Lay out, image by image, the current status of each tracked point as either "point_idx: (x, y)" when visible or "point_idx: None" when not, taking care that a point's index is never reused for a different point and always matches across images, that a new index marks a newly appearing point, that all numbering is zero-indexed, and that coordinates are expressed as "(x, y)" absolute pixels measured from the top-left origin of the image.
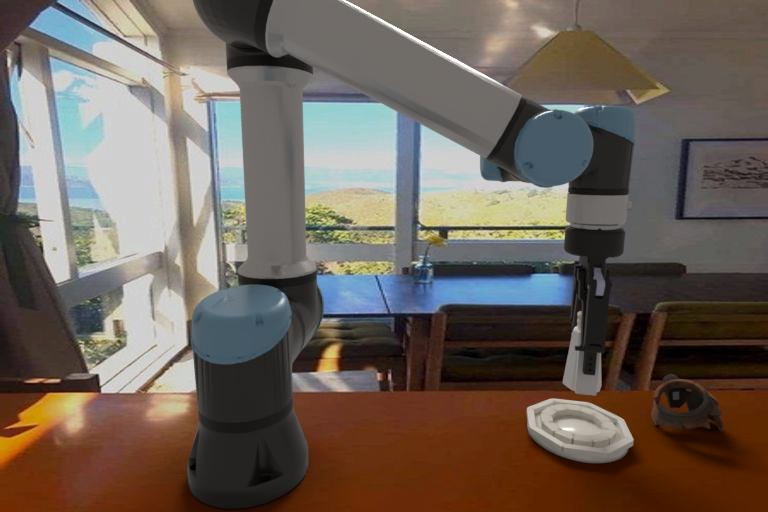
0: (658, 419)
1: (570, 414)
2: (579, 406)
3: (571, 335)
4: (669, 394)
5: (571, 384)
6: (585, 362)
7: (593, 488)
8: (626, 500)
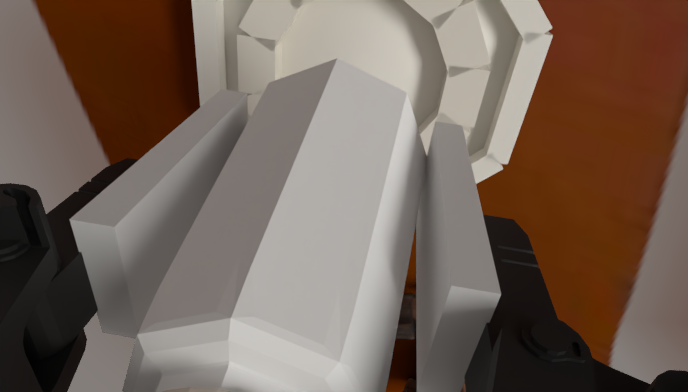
0: (407, 301)
1: (442, 78)
2: (468, 123)
3: (492, 273)
4: None
5: (266, 91)
6: (64, 201)
7: (105, 35)
8: (93, 100)
